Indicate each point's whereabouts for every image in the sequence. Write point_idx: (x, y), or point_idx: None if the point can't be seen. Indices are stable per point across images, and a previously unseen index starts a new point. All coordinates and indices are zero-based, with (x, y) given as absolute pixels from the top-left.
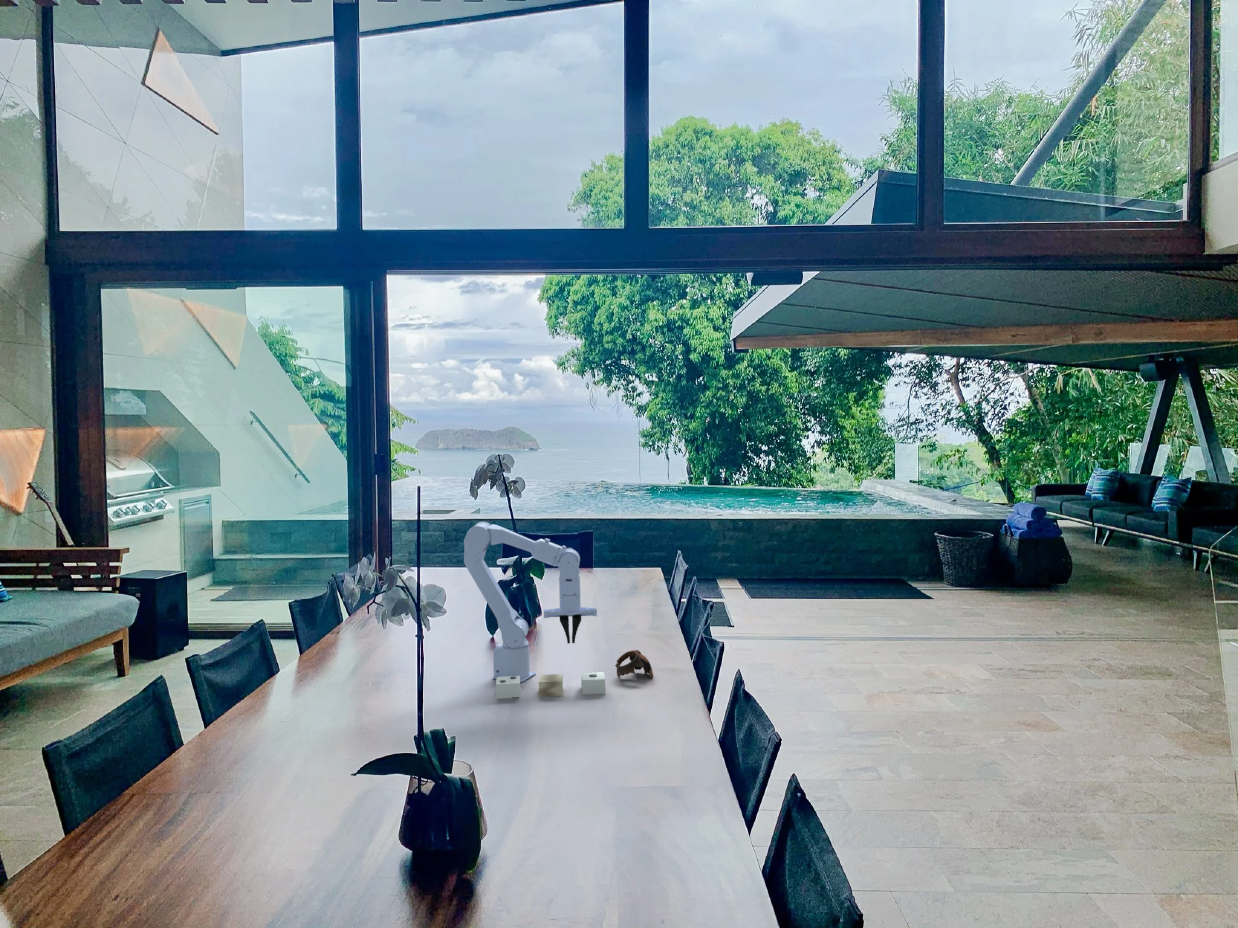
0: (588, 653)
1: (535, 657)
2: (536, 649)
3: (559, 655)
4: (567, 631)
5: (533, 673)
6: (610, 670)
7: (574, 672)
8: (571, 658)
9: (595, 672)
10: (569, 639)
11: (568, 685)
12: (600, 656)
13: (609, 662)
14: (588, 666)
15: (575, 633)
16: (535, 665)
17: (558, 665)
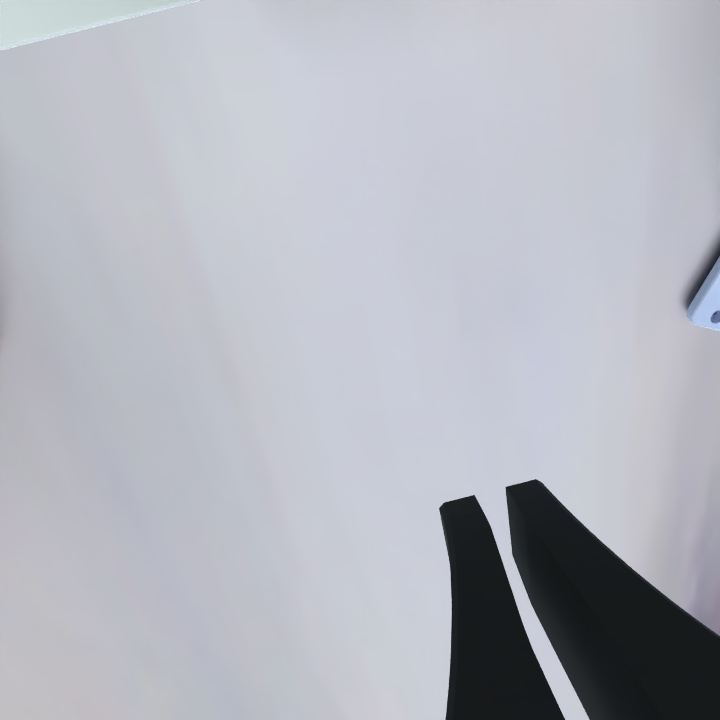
0: (367, 684)
1: (660, 588)
2: None
3: None
4: (636, 624)
5: (711, 290)
6: (127, 467)
7: (393, 391)
8: None
9: (42, 35)
10: (534, 519)
11: (389, 37)
12: (285, 662)
13: (195, 595)
14: (317, 513)
15: (465, 623)
16: (669, 477)
17: None
